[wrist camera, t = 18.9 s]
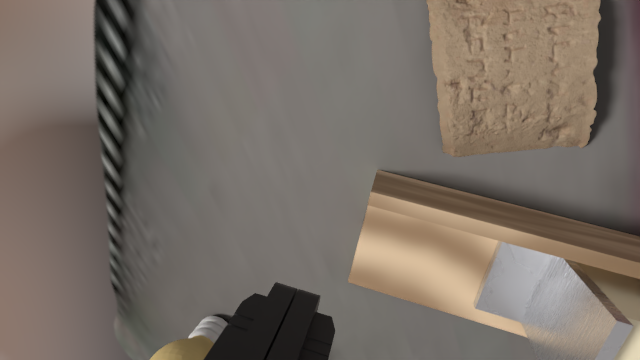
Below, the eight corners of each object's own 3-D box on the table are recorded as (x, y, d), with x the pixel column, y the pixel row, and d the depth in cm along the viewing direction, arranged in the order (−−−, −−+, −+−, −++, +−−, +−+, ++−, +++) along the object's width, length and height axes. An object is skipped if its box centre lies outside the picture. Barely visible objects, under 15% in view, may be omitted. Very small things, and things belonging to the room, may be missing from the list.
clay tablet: (583, 151, 27) (602, 159, 24) (441, 168, 29) (444, 177, 27) (582, -67, 23) (604, -84, 21) (421, -25, 26) (423, -36, 23)
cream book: (561, 249, 27) (620, 315, 20) (625, 266, 27) (711, 342, 19) (524, 326, 30) (565, 411, 22) (582, 343, 29) (644, 437, 21)
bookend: (502, 231, 28) (544, 300, 19) (562, 247, 27) (633, 325, 19) (473, 303, 30) (499, 392, 22) (528, 320, 29) (577, 419, 21)
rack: (377, 169, 30) (363, 216, 20) (715, 255, 26) (905, 366, 16) (349, 276, 33) (325, 361, 23) (645, 366, 29) (766, 513, 19)
